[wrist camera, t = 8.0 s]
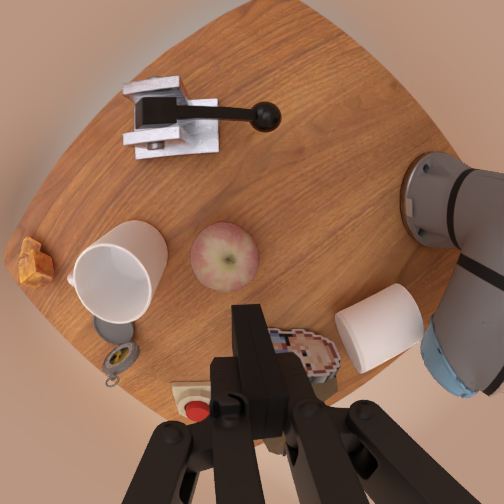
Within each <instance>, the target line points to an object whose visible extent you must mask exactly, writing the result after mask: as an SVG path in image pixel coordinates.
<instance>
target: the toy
mask: <svg viewBox="0 0 504 504" xmlns="http://www.w3.org/2000/svg"><path fill="white" fill-rule="evenodd" d="M268 331H269V334H270V337H271V340H272V343H273V346H274V349H275V352H276V353H283V352H294V353H295V354H296V355H297V356H298V357H299V358H300V359H301V362H302V364H303V367H304V369H305V371H306V374H307V376H308V378H309V380H310V383H311V384H312V383H324V382H326V381H327V379H331V378H333V377H334V375H335V374H336V373H337V371H338V369H339V368H340V364H339V363H340V361H341V357H340V355H339V352H338V350H337V348H336V346H335V344H334V342H333V341H329V339H328V338H324V337H323V336H322V335H315V334H314V333H313V332H306V331H305V330H304V329H292V330H291V332H287V331H281V330H280V329H278V328H268Z"/></svg>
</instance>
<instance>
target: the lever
mask: <svg viewBox="0 0 504 504" xmlns="http://www.w3.org/2000/svg"><path fill="white" fill-rule="evenodd" d="M281 118H282V116H281V112H280V110H279V108H278V107H277V106H276V105H275V104H273V103H271V102H259V103H257V104H255V105H254V106H253V107H252V108H251V109H244V108H232V107H217V106H193V105H177V97H142V98H141V99H140V100H139V101H138V102H137V103H136V104H135V129H149V128H161V127H169V126H171V125H173V124H176V123H177V120H228V121H246V122H250V124H251V125H252V127H253V128H254V129H256V130H257V131H259V132H271V131H273V130H275V129H276V128H277V127H278V126H279V125H280V123H281Z"/></svg>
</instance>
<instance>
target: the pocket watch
mask: <svg viewBox="0 0 504 504" xmlns="http://www.w3.org/2000/svg"><path fill="white" fill-rule="evenodd" d="M93 325H94V328H95V330H96V332H97V333H98V335H99V336H100V337H102V338H103V339H104V340H105V341H107V342H109V343H112V344H119V346H117V347H116V348H115V349H113V350H112V351H111V352H110V353H109V354H108V356H107V357H106V358H105V360H104V363H103V367H102V368H103V371H104V372H105V373H106V374H108V375H110V376H109V378H108V379H107V381H106V386H107V387H113V386H115V385H116V384H117V383H118V382H119V377H118V376H116V375H118V374H120V373H122V372H124V371H125V370H127V369H128V368H129V367H130V366H131V365H132V364H133V363H134V362H135V361H136V359H137V358H138V356H139V353H140V348H139V346H138V344H137V343H136V342H134V341H130V340H131V338H132V336H133V333H134V326H133V323H132V322H129V323H124V324H116V323H110V322H107V321H104V320H102V319H100V318H98V317H96V316H95V315H94V316H93ZM125 353H126V354H125ZM127 353H128V355H127ZM121 356H122V357H121ZM115 362H116V363H115ZM114 363H115V364H114ZM116 377H117V379H118V380H117V382H116V383H115V384H114V385H112V386H109V385H107V382H108V381H109V379H110V380H111V381H113V380H114V379H115V378H116Z"/></svg>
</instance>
